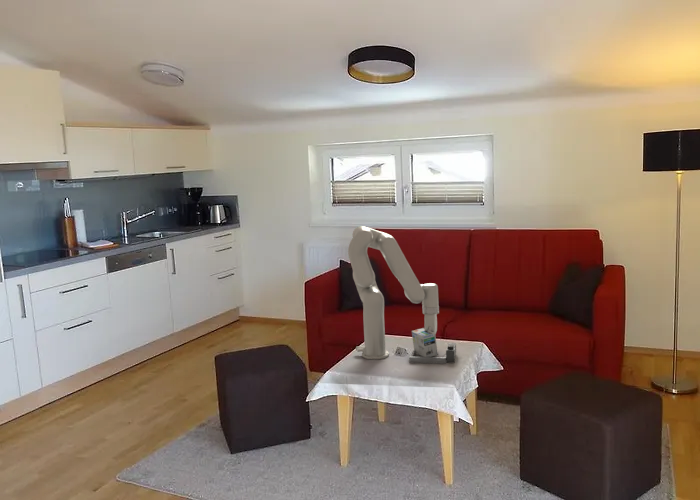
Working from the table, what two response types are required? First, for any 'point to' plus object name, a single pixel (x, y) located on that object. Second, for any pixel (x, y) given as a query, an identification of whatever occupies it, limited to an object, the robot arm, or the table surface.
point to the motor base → (448, 357)
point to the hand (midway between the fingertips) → (432, 348)
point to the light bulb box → (424, 342)
